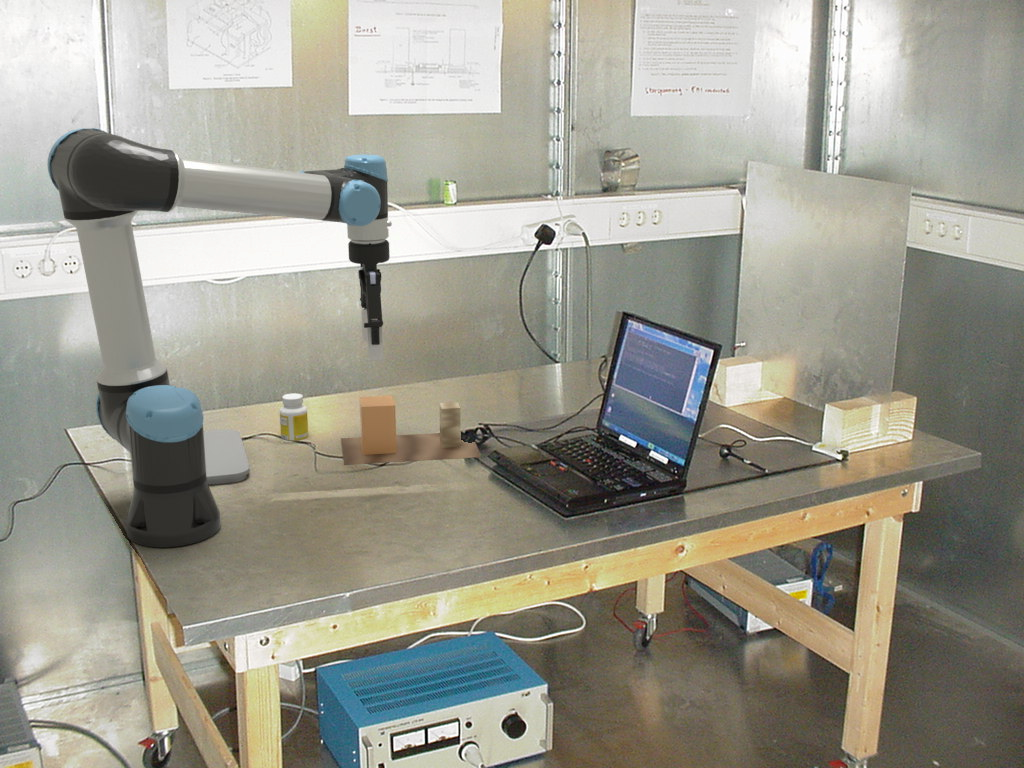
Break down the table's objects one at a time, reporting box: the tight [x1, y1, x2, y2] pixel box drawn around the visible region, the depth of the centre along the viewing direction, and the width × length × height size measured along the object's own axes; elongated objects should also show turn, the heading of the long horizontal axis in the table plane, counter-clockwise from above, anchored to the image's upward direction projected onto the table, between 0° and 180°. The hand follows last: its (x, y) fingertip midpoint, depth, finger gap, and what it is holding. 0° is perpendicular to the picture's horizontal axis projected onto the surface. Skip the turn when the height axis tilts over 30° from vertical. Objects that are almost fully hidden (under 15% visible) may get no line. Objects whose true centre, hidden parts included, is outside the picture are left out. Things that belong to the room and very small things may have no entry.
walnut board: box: [340, 432, 482, 466], centre depth 239 cm, size 26×15×2 cm, turn 100°
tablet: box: [203, 428, 251, 486], centre depth 235 cm, size 16×26×2 cm, turn 17°
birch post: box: [439, 401, 462, 448], centre depth 240 cm, size 4×4×8 cm
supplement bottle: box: [279, 392, 309, 441], centre depth 244 cm, size 5×5×10 cm
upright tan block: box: [359, 394, 397, 455], centre depth 237 cm, size 6×6×10 cm
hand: (372, 351), depth 233 cm, fingers open, 13 cm apart
